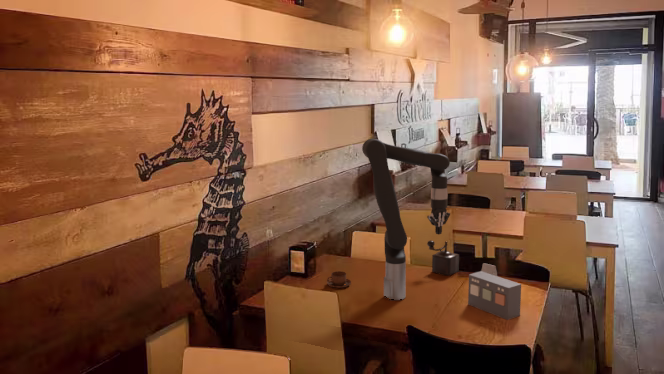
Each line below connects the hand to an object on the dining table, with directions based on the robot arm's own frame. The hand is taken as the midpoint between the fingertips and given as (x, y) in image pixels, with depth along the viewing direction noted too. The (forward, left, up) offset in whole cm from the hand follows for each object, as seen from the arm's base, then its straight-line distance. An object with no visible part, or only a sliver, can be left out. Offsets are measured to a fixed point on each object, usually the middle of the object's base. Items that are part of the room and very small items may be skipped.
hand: (438, 233), depth 277 cm
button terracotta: (+9, -35, -23) cm, 43 cm away
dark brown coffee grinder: (+20, +25, -29) cm, 43 cm away
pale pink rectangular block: (+30, 0, -29) cm, 42 cm away
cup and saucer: (-37, +32, -29) cm, 57 cm away
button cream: (+6, -22, -23) cm, 32 cm away
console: (+10, -28, -29) cm, 42 cm away
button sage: (+8, -28, -23) cm, 37 cm away
